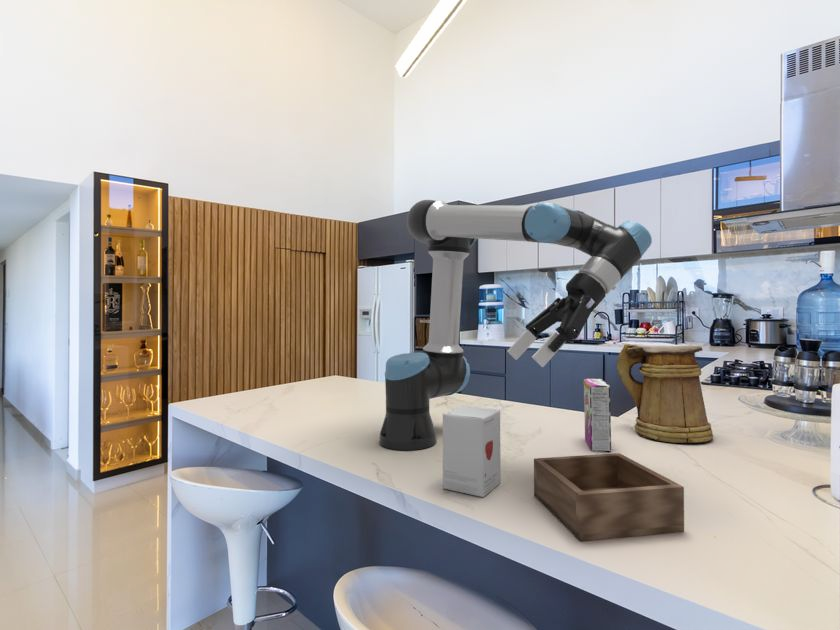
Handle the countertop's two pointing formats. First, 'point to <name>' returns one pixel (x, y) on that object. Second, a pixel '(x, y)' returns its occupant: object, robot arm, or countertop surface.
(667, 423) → the tankard
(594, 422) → the candy bar box
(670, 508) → the crate
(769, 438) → the countertop surface
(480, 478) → the supplement box
